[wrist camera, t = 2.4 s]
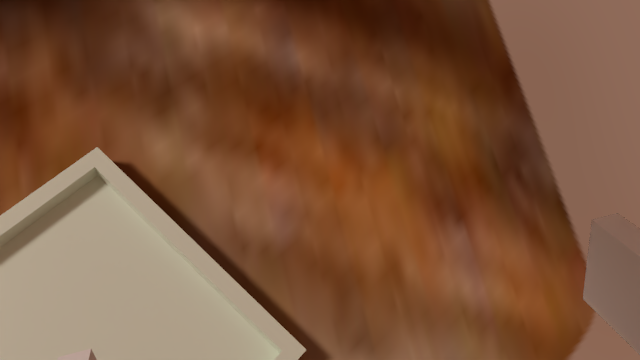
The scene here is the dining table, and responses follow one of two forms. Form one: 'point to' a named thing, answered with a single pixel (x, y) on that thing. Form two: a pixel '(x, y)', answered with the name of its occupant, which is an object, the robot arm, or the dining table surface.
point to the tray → (119, 280)
